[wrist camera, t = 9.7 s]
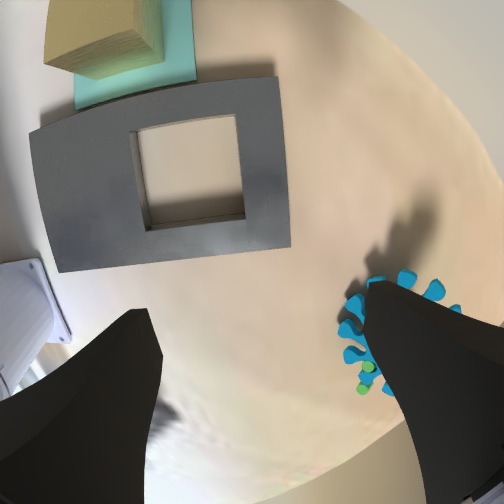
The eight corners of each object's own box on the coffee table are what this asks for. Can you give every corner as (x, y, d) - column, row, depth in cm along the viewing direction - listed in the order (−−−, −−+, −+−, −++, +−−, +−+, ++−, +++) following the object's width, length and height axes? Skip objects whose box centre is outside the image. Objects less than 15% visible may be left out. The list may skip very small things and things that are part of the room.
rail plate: (67, 264, 18) (59, 273, 17) (40, 132, 14) (28, 133, 13) (286, 239, 18) (291, 247, 17) (274, 81, 15) (277, 76, 13)
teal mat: (78, 110, 14) (75, 110, 14) (78, 12, 11) (76, 10, 11) (196, 80, 14) (196, 79, 14) (190, -20, 11) (189, -23, 11)
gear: (380, 243, 17) (492, 331, 12) (398, 234, 22) (486, 303, 17) (306, 355, 22) (393, 427, 18) (337, 329, 27) (410, 389, 22)
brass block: (96, 81, 13) (43, 63, 8) (96, 23, 12) (51, -9, 6) (164, 62, 13) (133, 28, 8) (162, 3, 12) (135, -43, 6)
